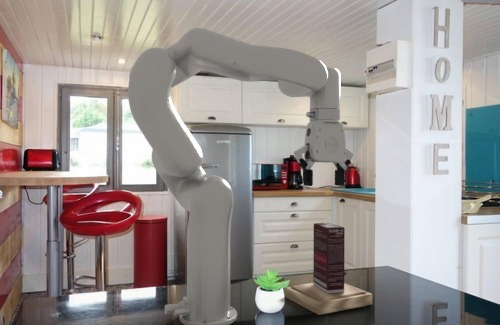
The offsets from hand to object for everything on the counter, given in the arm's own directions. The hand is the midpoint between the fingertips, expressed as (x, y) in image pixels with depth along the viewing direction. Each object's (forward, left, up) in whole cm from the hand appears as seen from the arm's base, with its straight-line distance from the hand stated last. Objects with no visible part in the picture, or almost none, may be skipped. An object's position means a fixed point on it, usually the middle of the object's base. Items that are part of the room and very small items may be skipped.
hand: (324, 185), depth 102 cm
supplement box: (+1, -1, -26) cm, 26 cm away
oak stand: (+1, -1, -29) cm, 29 cm away
